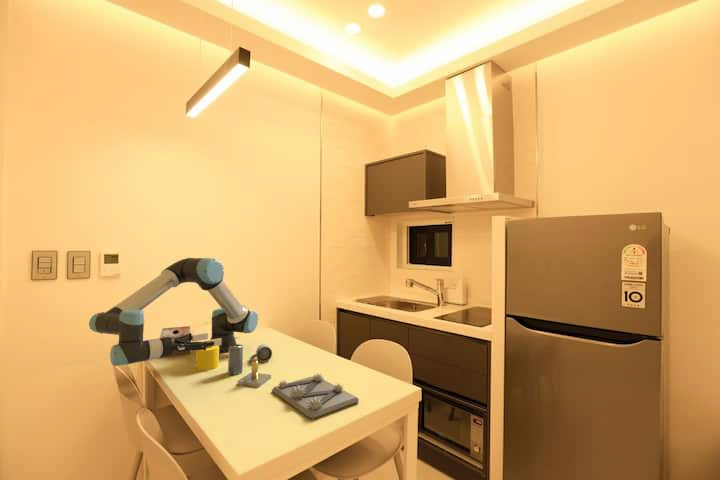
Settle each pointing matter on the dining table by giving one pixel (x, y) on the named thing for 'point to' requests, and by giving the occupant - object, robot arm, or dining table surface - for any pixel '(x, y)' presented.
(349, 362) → the dining table surface
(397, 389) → the dining table surface
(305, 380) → the decorative plate
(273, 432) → the dining table surface
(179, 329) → the tissue box cover
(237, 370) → the trash can
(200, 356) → the tape roll
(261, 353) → the ceramic mug
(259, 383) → the square metal stand
